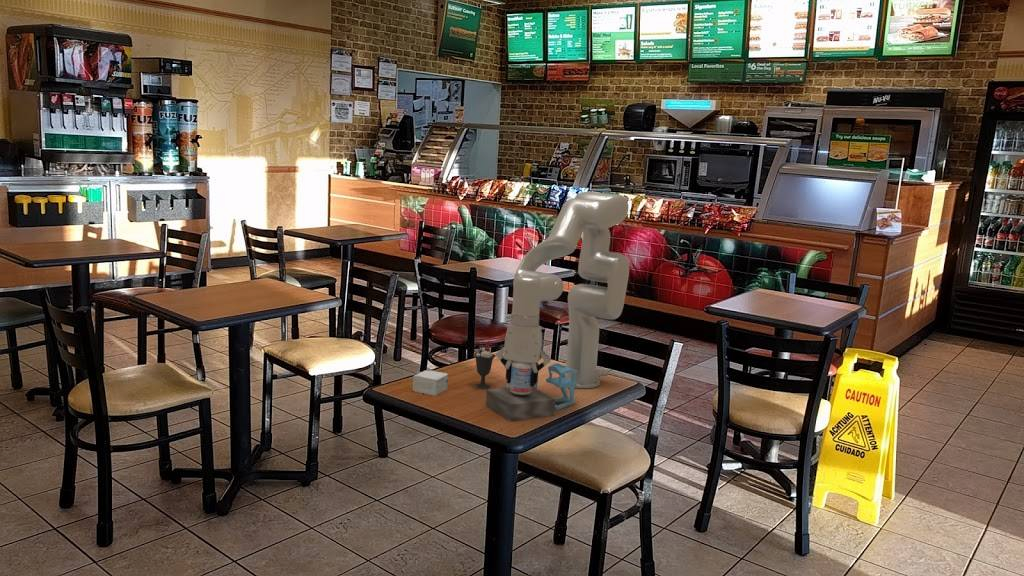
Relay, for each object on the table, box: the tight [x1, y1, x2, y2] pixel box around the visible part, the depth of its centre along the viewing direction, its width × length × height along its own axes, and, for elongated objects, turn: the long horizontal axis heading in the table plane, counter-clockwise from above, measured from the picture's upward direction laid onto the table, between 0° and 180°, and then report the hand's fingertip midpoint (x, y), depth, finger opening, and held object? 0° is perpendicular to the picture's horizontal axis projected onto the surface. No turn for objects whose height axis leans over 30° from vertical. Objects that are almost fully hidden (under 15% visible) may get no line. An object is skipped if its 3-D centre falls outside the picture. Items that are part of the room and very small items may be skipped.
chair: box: [545, 362, 577, 411], centre depth 225 cm, size 8×8×12 cm
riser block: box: [485, 387, 556, 422], centre depth 218 cm, size 14×14×5 cm
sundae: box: [473, 340, 497, 390], centre depth 237 cm, size 7×7×15 cm
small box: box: [412, 369, 449, 397], centre depth 231 cm, size 8×8×5 cm
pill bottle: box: [510, 361, 533, 395], centre depth 216 cm, size 6×6×11 cm
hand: (521, 383), depth 217 cm, fingers closed on pill bottle, 6 cm apart
